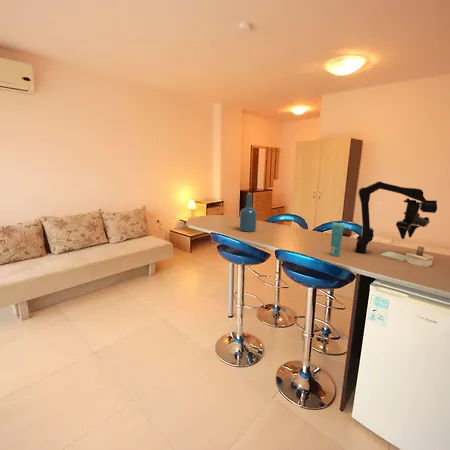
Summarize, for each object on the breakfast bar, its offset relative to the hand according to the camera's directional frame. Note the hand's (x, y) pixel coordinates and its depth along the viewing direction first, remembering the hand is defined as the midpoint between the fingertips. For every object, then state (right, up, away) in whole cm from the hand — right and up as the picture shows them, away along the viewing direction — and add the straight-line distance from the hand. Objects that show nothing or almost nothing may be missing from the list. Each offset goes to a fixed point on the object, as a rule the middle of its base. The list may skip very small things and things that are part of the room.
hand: (406, 238), depth 149 cm
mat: (-3, -11, +5) cm, 13 cm away
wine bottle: (-85, +3, +60) cm, 104 cm away
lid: (+2, -10, -7) cm, 12 cm away
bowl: (+2, -14, -6) cm, 15 cm away
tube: (-39, -10, +5) cm, 41 cm away
